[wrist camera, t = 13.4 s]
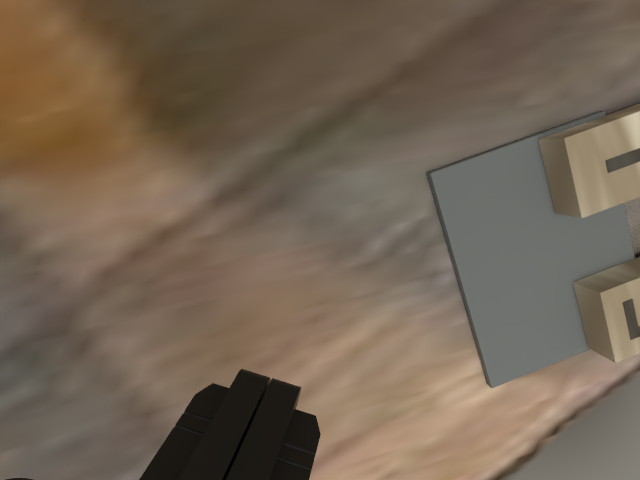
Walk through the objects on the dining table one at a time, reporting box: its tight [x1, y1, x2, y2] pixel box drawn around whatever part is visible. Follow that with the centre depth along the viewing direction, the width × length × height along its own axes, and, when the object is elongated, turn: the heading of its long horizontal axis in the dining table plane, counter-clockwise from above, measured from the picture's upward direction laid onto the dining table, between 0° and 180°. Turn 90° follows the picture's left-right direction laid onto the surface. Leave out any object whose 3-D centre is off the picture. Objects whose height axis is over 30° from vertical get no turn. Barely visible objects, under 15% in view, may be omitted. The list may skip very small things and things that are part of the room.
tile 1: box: [538, 104, 640, 218], centre depth 28 cm, size 2×4×8 cm
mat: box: [427, 111, 635, 388], centre depth 30 cm, size 14×11×1 cm
